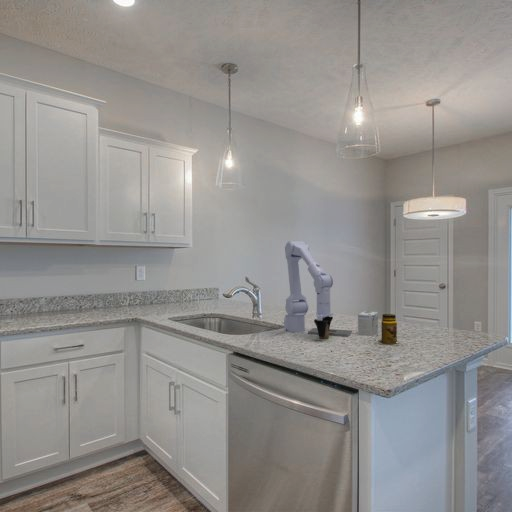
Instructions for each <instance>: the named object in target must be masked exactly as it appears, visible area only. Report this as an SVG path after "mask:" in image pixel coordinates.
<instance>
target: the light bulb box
mask: <svg viewBox="0 0 512 512" xmlns="http://www.w3.org/2000/svg"><path fill="white" fill-rule="evenodd" d="M378 320H379V312H378V311H362V312H359V313H358V314H357V334H358V335H361V336H371V337H372V336H375V337H377V336H378V335H379V321H378Z"/></svg>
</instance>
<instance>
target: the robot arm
mask: <svg viewBox="0 0 512 512" xmlns="http://www.w3.org/2000/svg"><path fill="white" fill-rule="evenodd" d="M284 252H285V253H284V254H285V255H284V256H285V260H286V263H287V271H288V282H289V283H288V284H289V292H290V293H289V294H290V295H289V296H287V298H286V299H285V306H284V307H285V312H286V314H285V316H284V318H283V327H284V328H283V329H284V330H283V332H284V334H285V333H287V332H292V333H303V332H305V331H306V330H305V327H306V326H305V324H306V323H305V321H306V320H305V318H306V317H305V315H307V313H308V312H309V305H308V304H309V303H308V300H307V297H306V296H305V295H303V293H302V287H301V286H302V285H301V277H300V267H299V266H300V265H299V262H300V260H301V259H302V260H303V261H304V262H305V264H306V265H307V272H308V273H309V274H310V276H311V277H312V279H313V287H314V288H315V290H314V291H315V293H316V319H315V318H314V319H313V322H314V325H315V326H316V328H317V330H318V334H319V335H318V336H319V337H324V336H325V329H326V325H327V324H328V327H329V329H330V327H331V323H332V320H333V319H334V318H333V317H334V313H331V288H332V287H333V285H334V281H333V280H334V279H333V277H332V275H331V274H328V273H327V272H325V270H324V269H323V267H322V266H321V264H320V263H319V262H316V261H315V259H314V257H313V256H312V254H311V252H310V245H309V244H308V242H307V241H305V240H304V241H295V240H294V241H291V240H287V242H286V244H285V246H284Z"/></svg>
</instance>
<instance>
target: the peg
mask: <svg viewBox="0 0 512 512" xmlns="http://www.w3.org/2000/svg"><path fill="white" fill-rule="evenodd" d="M329 329H330V328H329V327H328V324H327V325H326V329H325V336H324V337H319V339H329V337H330V336H329Z"/></svg>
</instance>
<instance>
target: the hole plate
mask: <svg viewBox="0 0 512 512" xmlns="http://www.w3.org/2000/svg"><path fill="white" fill-rule="evenodd" d="M352 333H353V330H349V329H348V330H346V329H335V328H334V329H333V328H331V329H330V328H329V337H343V338H349V337H350V336H351V334H352ZM307 335H314V336H316V335H317V336H319V334H318V330H317V327H313V328H312V329H310V330H308V331H307Z"/></svg>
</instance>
